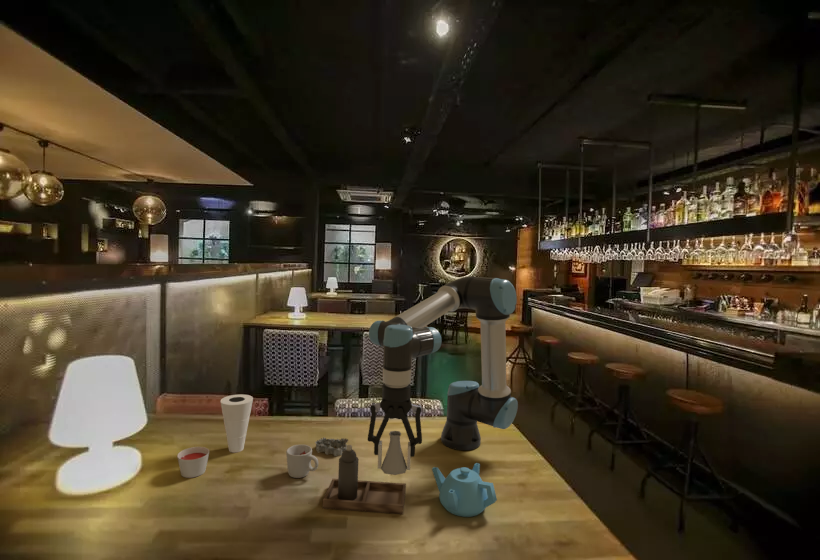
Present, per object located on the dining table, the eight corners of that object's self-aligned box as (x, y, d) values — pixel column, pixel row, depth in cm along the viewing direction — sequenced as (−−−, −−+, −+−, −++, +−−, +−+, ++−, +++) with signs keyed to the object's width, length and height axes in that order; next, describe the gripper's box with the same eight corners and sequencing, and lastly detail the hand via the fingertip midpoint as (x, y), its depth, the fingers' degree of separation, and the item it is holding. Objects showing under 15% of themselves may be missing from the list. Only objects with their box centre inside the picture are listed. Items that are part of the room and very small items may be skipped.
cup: (323, 472, 142) (324, 448, 141) (310, 484, 134) (311, 459, 134) (295, 466, 145) (295, 442, 145) (280, 477, 138) (281, 452, 137)
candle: (215, 469, 141) (215, 450, 140) (190, 483, 132) (191, 462, 132) (195, 463, 144) (195, 444, 144) (170, 475, 136) (170, 455, 136)
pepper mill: (358, 491, 130) (360, 442, 129) (355, 502, 125) (357, 451, 124) (340, 490, 131) (341, 441, 130) (335, 500, 125) (337, 449, 124)
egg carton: (349, 450, 159) (349, 439, 158) (338, 458, 152) (338, 447, 152) (324, 443, 163) (325, 432, 163) (312, 451, 156) (312, 440, 156)
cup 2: (212, 452, 152) (213, 401, 151) (235, 440, 162) (236, 392, 161) (236, 459, 148) (237, 406, 147) (258, 446, 158) (259, 397, 157)
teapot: (445, 524, 118) (447, 485, 117) (429, 493, 132) (431, 458, 131) (498, 518, 121) (500, 480, 120) (477, 489, 136) (479, 455, 135)
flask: (380, 462, 122) (381, 427, 121) (406, 462, 122) (407, 427, 122) (381, 476, 114) (382, 439, 114) (408, 475, 115) (410, 438, 114)
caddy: (405, 491, 133) (405, 483, 133) (402, 514, 121) (403, 505, 121) (332, 486, 134) (332, 478, 134) (322, 508, 122) (323, 500, 122)
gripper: (434, 380, 120) (431, 461, 122) (361, 377, 121) (359, 458, 122) (434, 389, 112) (431, 475, 114) (356, 386, 113) (354, 472, 115)
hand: (394, 466), depth 118 cm, fingers closed on flask, 7 cm apart
